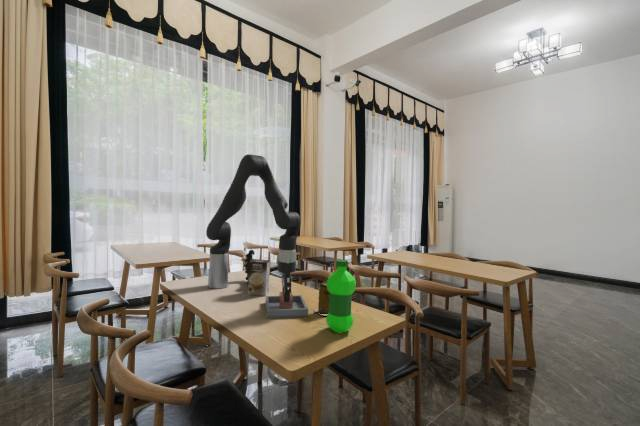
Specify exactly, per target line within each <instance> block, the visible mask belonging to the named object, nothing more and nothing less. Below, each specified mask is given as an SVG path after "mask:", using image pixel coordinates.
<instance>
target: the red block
mask: <svg viewBox="0 0 640 426" xmlns="http://www.w3.org/2000/svg"><path fill="white" fill-rule="evenodd" d="M293 295H294V294H293V292H292V291H291V293H290V301H289V302H284V292H282V291H279V295H278V296H279V308H280V309H292V305H293Z"/></svg>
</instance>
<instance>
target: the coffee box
mask: <svg viewBox="0 0 640 426" xmlns="http://www.w3.org/2000/svg"><path fill="white" fill-rule="evenodd" d="M270 267H271V261H270V260H269V259H268V260H267V259H257V258H253V259H252V260H250V261H249V272H248V280H247V281H248V283H247V296H263V297H266V296H268V293H269V292H270V290H269V289H270V277H269V273H270V269H271V268H270Z"/></svg>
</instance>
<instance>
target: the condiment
mask: <svg viewBox="0 0 640 426" xmlns="http://www.w3.org/2000/svg"><path fill="white" fill-rule="evenodd" d="M319 286H320V287H319V290H318V308H317V309H314V310H313V311H314V312H315V313H316V312H318V313H320V314H328V313H329V305H330V292H329V291H328V290H327V281H325V282H320V285H319ZM318 313H317V314H318ZM320 314H318V315H319V316H320ZM321 317H322V318H324V317H323V316H321Z"/></svg>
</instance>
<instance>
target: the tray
mask: <svg viewBox="0 0 640 426" xmlns="http://www.w3.org/2000/svg"><path fill="white" fill-rule="evenodd" d="M292 295H293V305H292V309H280V308H279V295H266V296H265V310H266V313H265V314H266V319H279V318H280V319H283V318H284V319H286V318H303V317H304V318H305V317H306V318H307V316H308V317H309V307H308V306H307V304H306V301H305V299H304V297H303V295H302V294H297V295H294V294H292Z"/></svg>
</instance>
